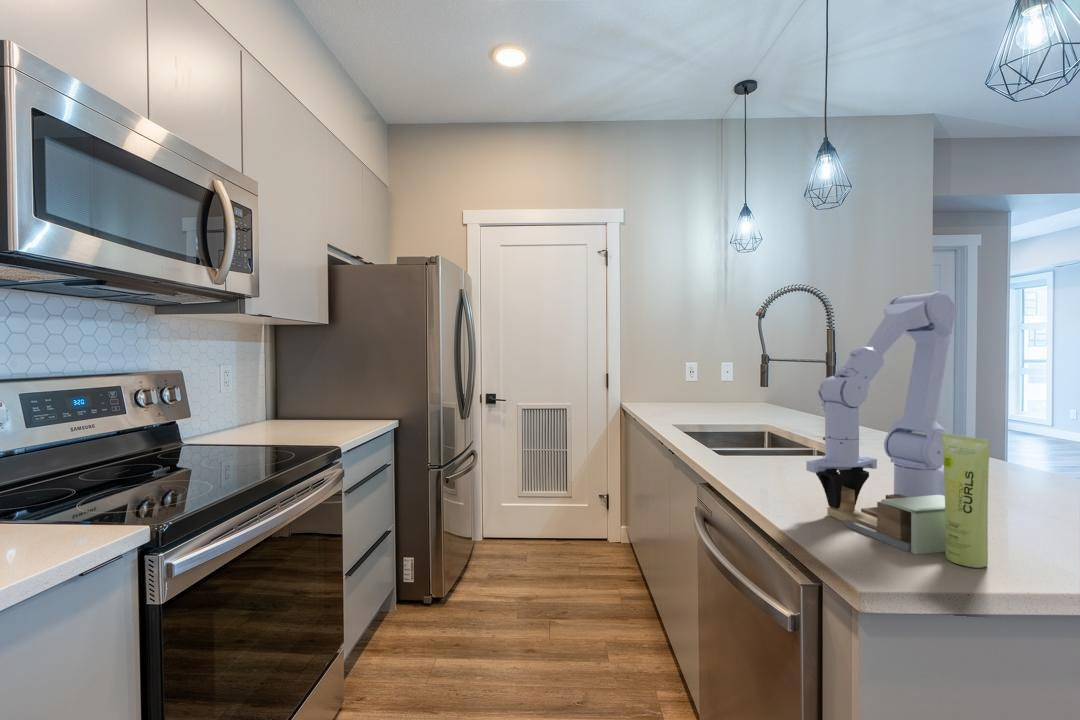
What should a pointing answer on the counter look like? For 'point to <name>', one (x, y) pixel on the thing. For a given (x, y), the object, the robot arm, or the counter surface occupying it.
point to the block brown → (873, 510)
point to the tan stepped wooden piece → (858, 514)
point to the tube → (966, 499)
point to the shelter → (924, 521)
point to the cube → (893, 519)
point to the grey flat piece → (878, 535)
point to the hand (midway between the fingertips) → (841, 506)
